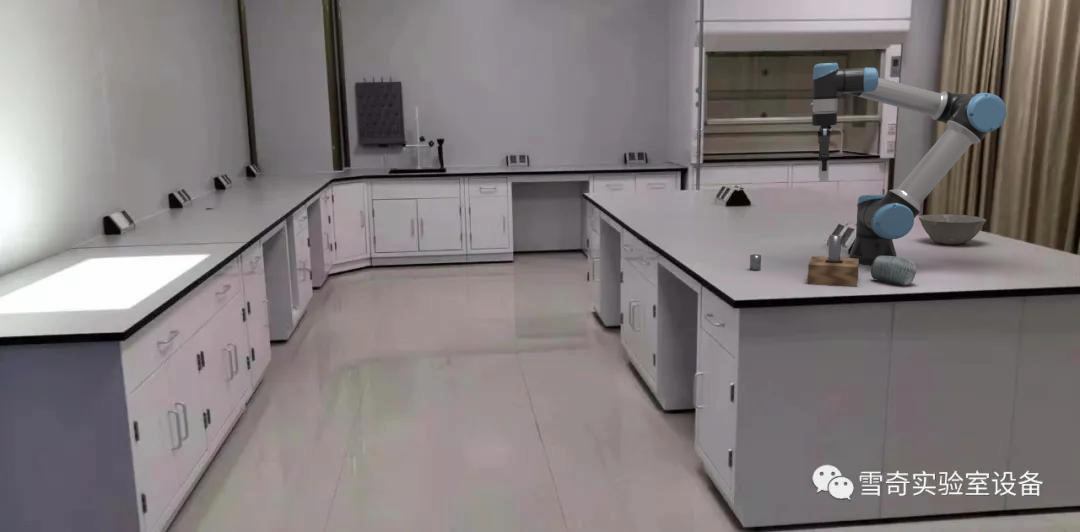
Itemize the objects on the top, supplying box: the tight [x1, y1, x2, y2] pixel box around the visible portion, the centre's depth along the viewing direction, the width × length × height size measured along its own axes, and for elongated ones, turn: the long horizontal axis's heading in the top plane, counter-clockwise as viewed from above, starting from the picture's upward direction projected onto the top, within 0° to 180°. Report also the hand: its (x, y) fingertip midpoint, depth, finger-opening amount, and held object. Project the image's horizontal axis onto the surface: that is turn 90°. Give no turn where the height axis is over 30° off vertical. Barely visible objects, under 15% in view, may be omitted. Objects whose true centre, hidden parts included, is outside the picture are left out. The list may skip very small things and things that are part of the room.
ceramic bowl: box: [918, 213, 987, 245], centre depth 311 cm, size 22×23×10 cm
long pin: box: [827, 234, 842, 263], centre depth 252 cm, size 4×4×14 cm
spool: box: [870, 256, 917, 286], centre depth 248 cm, size 14×10×10 cm
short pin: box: [749, 253, 762, 272], centre depth 271 cm, size 4×4×5 cm
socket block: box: [807, 256, 860, 287], centre depth 252 cm, size 14×14×6 cm
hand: (823, 179), depth 265 cm, fingers open, 13 cm apart
